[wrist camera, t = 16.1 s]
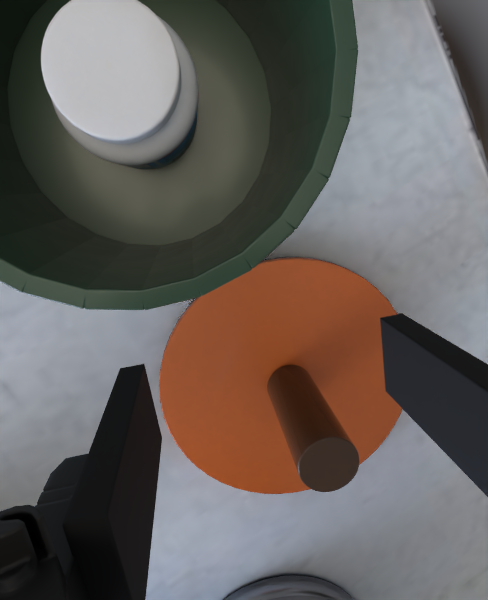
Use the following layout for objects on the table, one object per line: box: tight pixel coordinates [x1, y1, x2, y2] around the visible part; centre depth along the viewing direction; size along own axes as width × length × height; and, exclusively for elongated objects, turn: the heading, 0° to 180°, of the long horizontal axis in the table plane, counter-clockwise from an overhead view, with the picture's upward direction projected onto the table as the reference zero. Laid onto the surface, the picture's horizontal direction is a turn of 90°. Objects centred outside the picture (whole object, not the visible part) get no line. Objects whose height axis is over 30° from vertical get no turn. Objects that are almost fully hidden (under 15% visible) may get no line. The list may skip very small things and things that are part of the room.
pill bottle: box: [41, 0, 199, 169], centre depth 20 cm, size 6×6×11 cm
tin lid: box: [159, 257, 402, 494], centre depth 27 cm, size 18×18×10 cm
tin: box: [0, 0, 358, 310], centre depth 20 cm, size 17×17×12 cm
